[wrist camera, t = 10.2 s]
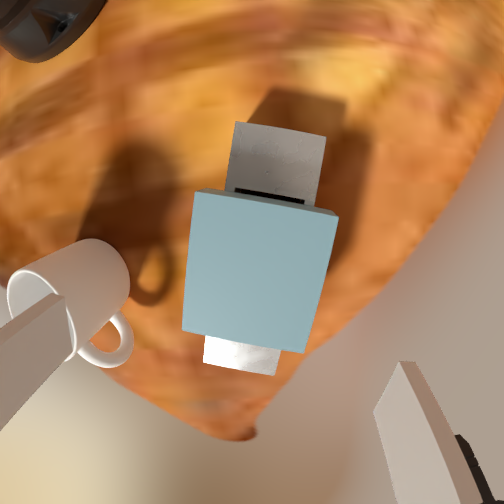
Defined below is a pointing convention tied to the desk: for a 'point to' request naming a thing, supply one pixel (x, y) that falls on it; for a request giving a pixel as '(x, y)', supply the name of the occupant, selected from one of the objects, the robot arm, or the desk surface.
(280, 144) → the grey block with holes
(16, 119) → the desk surface
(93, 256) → the mug
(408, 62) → the desk surface
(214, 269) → the pale blue memo pad
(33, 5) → the robot arm
